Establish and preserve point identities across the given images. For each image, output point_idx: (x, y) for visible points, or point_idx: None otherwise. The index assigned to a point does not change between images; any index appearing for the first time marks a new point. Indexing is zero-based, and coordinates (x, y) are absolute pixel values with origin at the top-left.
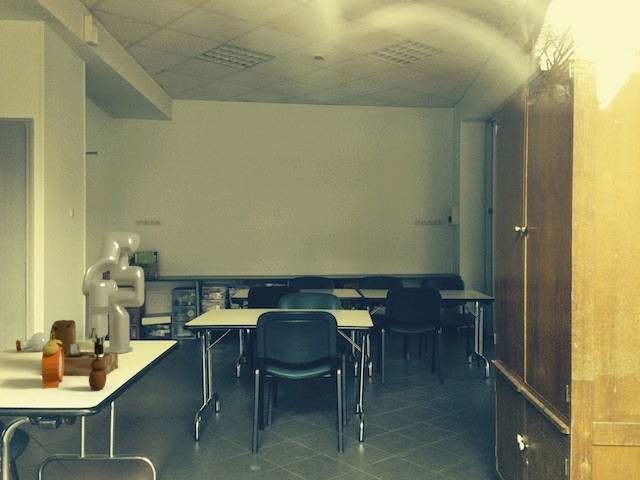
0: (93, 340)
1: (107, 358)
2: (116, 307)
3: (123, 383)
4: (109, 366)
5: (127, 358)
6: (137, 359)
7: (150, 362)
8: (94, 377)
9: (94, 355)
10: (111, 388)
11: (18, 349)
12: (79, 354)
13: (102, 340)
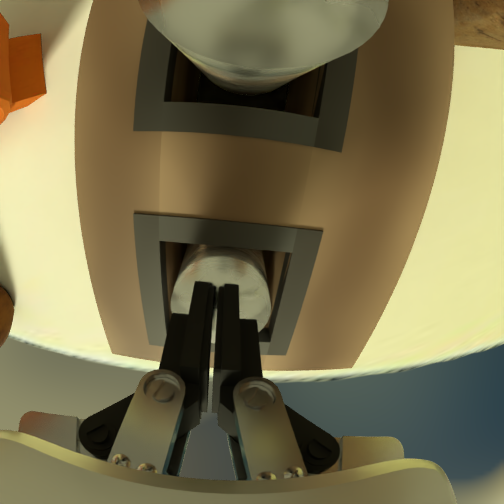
0: (28, 434)
1: (155, 356)
2: None
3: (70, 354)
4: None
5: (473, 281)
6: (441, 321)
7: (373, 372)
8: None
9: (183, 275)
10: (22, 329)
11: None
12: (223, 85)
13: (233, 458)
